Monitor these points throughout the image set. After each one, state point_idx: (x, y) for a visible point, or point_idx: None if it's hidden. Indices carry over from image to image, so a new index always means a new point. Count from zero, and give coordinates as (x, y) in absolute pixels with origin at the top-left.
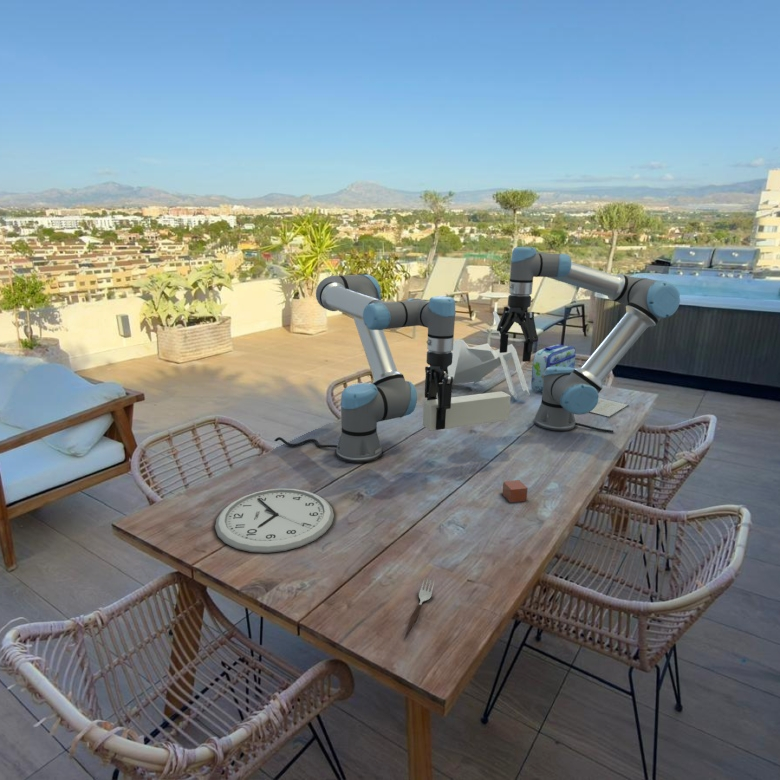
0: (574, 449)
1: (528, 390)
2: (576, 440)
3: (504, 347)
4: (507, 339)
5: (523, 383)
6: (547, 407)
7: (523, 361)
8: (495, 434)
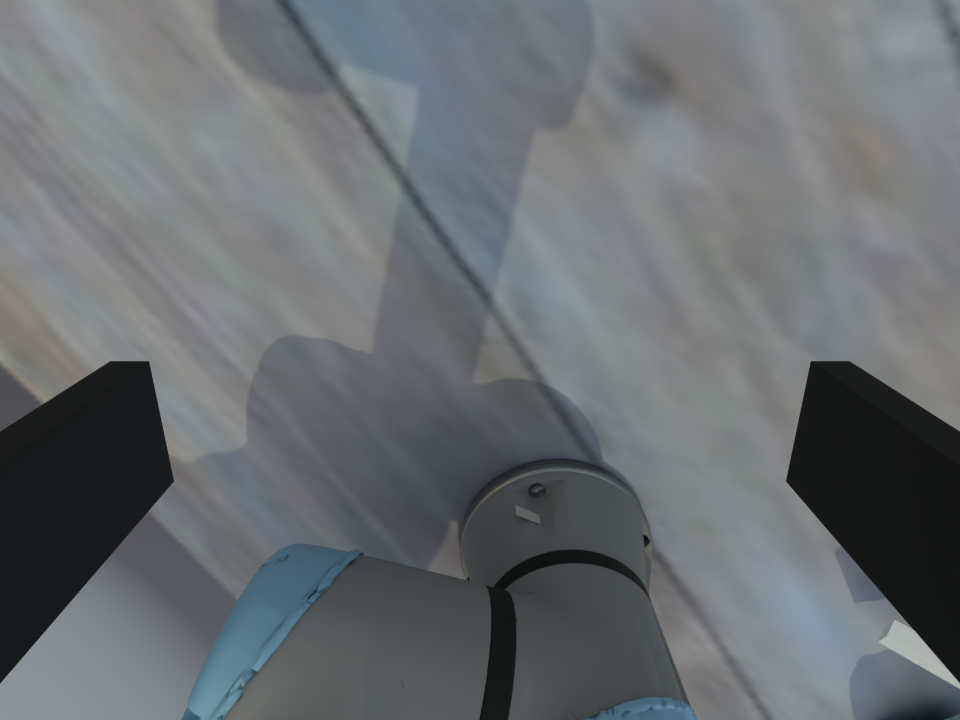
0: (268, 436)
1: (910, 660)
2: (355, 506)
3: (848, 477)
4: (948, 650)
5: (941, 662)
6: (548, 546)
7: (113, 362)
8: (556, 189)
